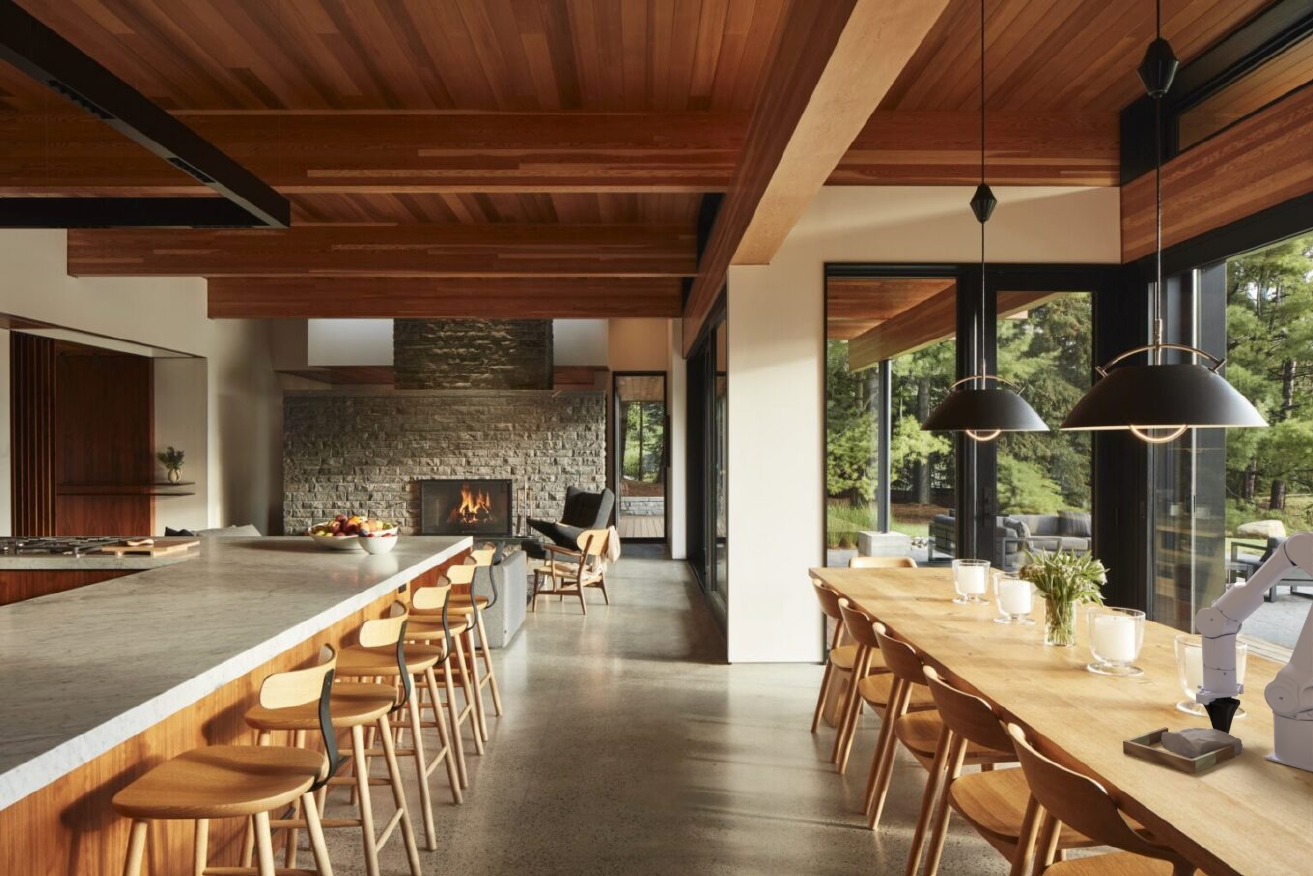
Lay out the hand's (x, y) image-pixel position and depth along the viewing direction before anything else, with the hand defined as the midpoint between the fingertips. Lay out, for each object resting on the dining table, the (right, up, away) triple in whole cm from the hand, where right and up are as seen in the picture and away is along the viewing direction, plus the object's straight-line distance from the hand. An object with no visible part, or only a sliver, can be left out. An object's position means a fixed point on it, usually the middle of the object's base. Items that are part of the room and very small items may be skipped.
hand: (1221, 734), depth 168 cm
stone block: (-8, -2, -5) cm, 10 cm away
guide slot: (-14, -1, -8) cm, 16 cm away
